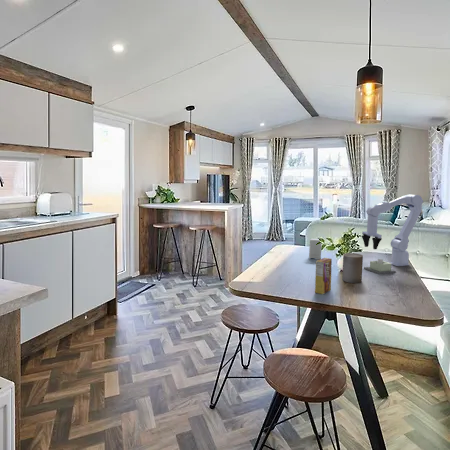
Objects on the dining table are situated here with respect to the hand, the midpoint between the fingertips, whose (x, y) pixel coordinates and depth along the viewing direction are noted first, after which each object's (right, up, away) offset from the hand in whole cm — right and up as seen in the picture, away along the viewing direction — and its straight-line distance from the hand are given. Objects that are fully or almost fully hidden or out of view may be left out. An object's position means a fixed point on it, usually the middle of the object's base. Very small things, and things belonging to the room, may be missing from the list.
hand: (370, 247), depth 223 cm
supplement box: (-30, -8, +17) cm, 36 cm away
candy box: (-44, -17, -53) cm, 70 cm away
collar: (0, -11, -14) cm, 18 cm away
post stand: (0, -12, -13) cm, 18 cm away
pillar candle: (-24, -15, -34) cm, 44 cm away
